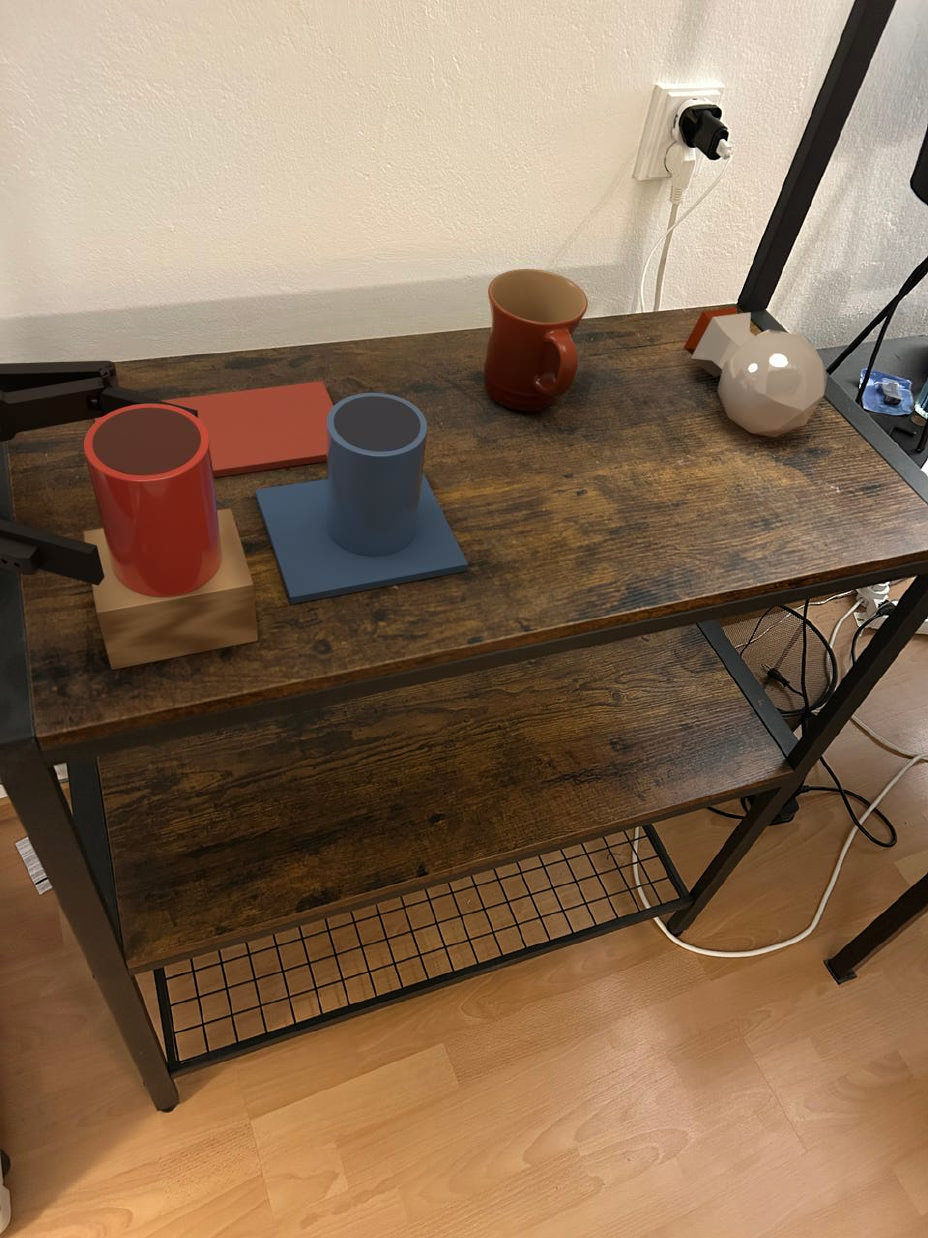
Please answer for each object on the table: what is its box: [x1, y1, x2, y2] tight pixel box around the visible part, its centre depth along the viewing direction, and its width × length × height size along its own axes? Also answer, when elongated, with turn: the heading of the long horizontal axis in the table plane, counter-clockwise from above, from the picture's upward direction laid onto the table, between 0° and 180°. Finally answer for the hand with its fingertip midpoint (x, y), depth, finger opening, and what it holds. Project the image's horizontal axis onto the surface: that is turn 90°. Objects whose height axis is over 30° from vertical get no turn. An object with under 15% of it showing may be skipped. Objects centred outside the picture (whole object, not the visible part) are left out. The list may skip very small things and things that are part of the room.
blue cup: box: [325, 392, 428, 556], centre depth 73 cm, size 7×7×10 cm
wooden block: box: [82, 508, 259, 671], centre depth 67 cm, size 10×8×6 cm
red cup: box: [83, 404, 222, 597], centre depth 61 cm, size 7×7×10 cm
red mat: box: [94, 380, 335, 479], centre depth 83 cm, size 20×10×1 cm, turn 110°
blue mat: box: [254, 472, 469, 605], centre depth 77 cm, size 14×12×1 cm
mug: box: [483, 268, 589, 412], centre depth 87 cm, size 12×9×10 cm
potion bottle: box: [683, 306, 829, 438], centre depth 91 cm, size 9×10×15 cm
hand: (151, 492), depth 61 cm, fingers open, 13 cm apart
